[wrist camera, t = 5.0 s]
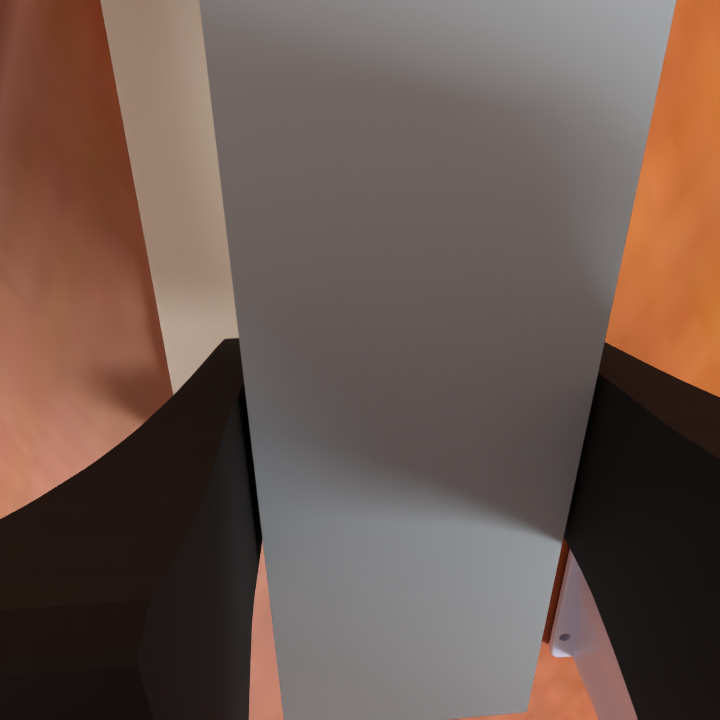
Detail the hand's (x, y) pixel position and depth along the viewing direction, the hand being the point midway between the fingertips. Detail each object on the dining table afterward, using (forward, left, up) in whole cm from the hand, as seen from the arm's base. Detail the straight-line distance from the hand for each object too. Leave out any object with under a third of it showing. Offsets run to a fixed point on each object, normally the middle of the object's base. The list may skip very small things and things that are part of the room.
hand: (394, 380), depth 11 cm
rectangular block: (0, 0, -3) cm, 3 cm away
